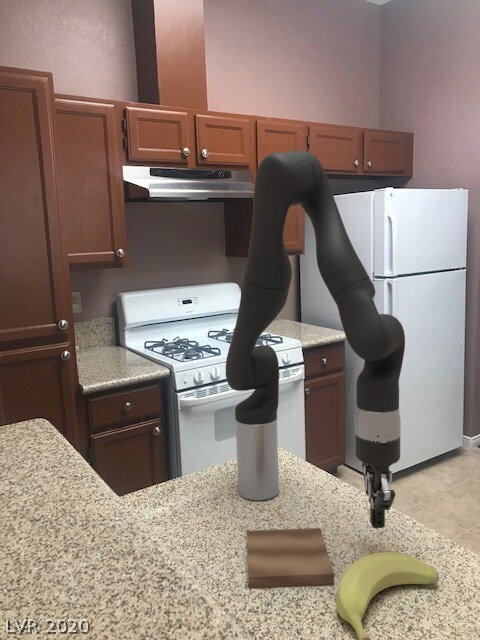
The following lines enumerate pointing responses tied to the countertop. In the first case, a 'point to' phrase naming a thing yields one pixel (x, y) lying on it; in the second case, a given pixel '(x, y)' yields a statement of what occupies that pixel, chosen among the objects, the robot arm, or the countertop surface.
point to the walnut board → (288, 558)
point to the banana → (377, 582)
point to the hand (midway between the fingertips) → (377, 525)
